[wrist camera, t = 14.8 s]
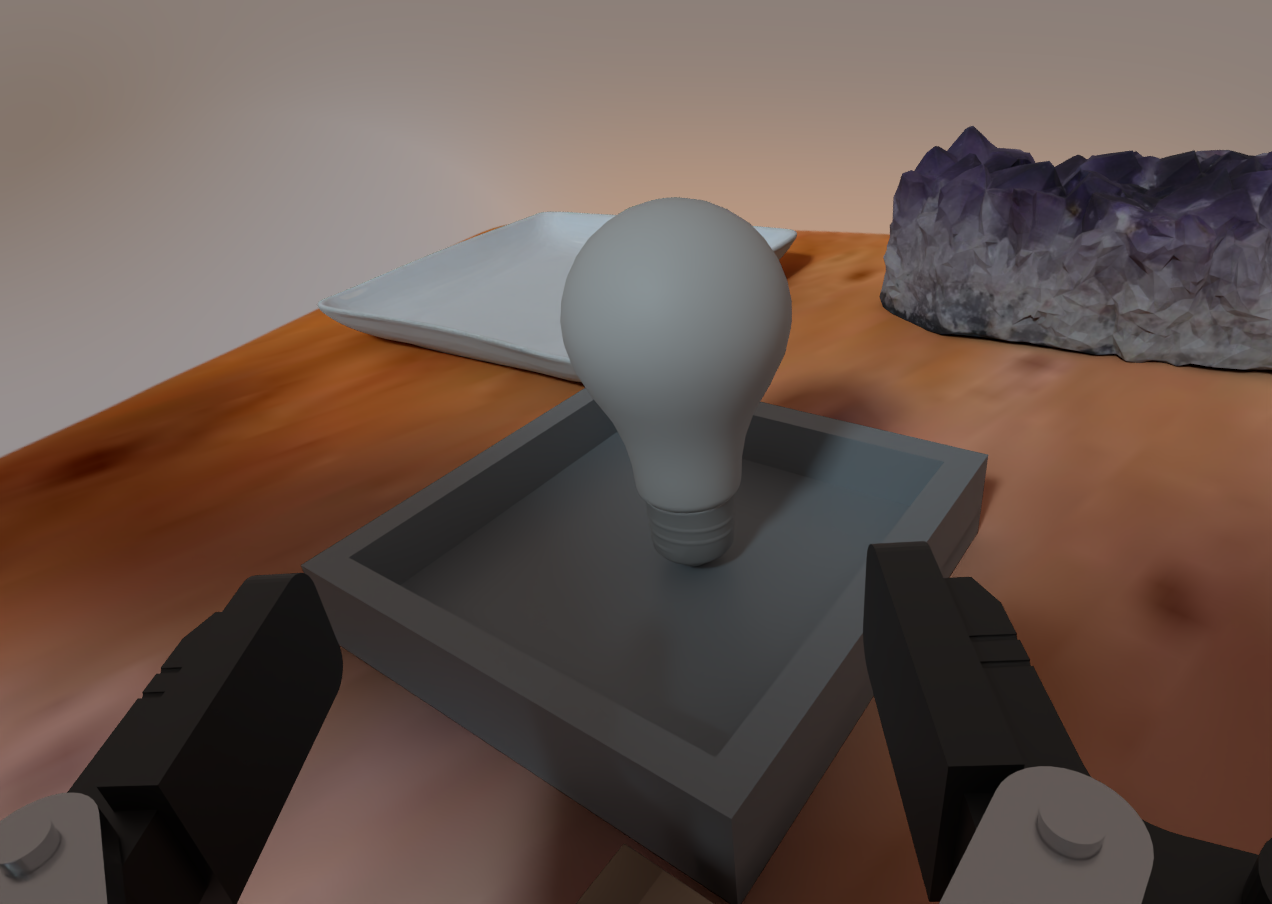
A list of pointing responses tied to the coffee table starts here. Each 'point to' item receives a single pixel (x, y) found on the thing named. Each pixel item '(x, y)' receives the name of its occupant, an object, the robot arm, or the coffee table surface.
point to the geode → (1089, 252)
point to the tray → (651, 618)
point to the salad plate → (488, 293)
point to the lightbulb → (679, 356)
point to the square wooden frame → (638, 883)
